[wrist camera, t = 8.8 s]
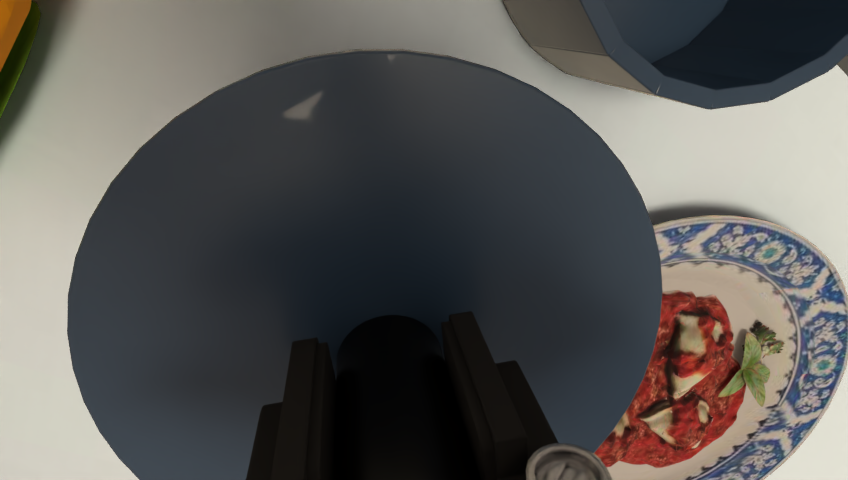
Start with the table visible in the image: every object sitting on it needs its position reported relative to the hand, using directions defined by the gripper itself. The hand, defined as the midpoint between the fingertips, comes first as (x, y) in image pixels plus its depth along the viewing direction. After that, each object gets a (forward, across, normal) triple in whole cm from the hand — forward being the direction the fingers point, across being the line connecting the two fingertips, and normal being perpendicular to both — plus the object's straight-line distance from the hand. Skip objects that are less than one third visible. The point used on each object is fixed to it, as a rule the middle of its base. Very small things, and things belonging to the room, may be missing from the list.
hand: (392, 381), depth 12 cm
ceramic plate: (+16, -17, +17) cm, 29 cm away
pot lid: (+1, 0, 0) cm, 1 cm away
